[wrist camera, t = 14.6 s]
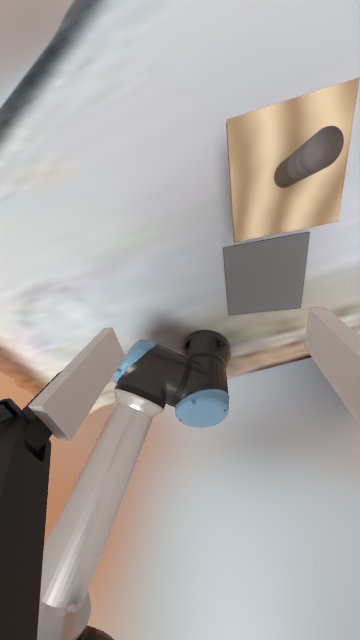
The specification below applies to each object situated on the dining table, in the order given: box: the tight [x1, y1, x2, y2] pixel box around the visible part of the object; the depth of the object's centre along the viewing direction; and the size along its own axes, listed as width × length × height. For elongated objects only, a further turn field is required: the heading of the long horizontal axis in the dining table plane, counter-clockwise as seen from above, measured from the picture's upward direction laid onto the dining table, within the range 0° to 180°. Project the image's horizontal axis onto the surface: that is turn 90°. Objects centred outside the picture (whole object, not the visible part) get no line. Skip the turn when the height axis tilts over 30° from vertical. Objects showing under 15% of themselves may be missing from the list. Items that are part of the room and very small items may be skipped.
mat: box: [223, 232, 310, 315], centre depth 45 cm, size 18×18×1 cm
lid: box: [226, 77, 360, 242], centre depth 22 cm, size 15×15×10 cm
